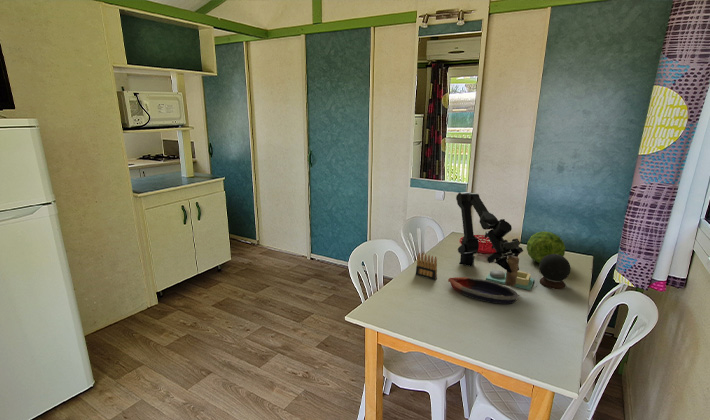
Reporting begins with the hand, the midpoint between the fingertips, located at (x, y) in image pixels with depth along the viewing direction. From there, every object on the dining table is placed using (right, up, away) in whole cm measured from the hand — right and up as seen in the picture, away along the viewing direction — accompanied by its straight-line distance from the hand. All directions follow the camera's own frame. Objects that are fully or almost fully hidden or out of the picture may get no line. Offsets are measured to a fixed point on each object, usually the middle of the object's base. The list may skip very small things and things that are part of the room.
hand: (514, 271), depth 170 cm
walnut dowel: (-1, -6, +3) cm, 7 cm away
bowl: (+5, +3, +53) cm, 54 cm away
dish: (-15, -11, -1) cm, 19 cm away
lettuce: (+32, -1, +37) cm, 48 cm away
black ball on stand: (+22, -8, +10) cm, 26 cm away
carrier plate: (+3, -7, +14) cm, 16 cm away
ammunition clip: (-37, -6, +17) cm, 41 cm away
